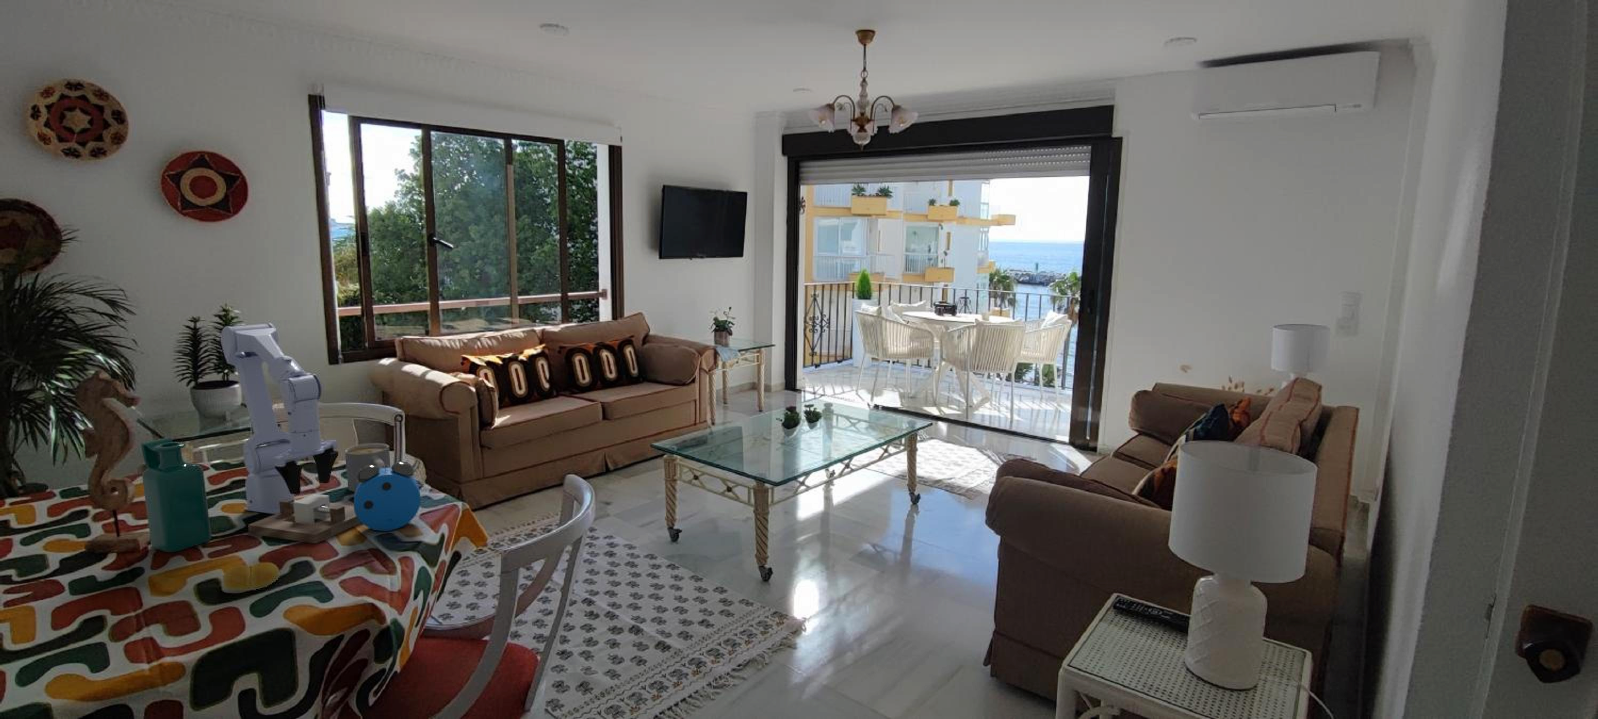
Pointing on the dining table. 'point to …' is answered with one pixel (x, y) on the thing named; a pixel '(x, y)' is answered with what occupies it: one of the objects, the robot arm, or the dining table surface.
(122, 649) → the dining table surface
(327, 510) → the hook bar
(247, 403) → the robot arm
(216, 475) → the dining table surface
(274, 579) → the bread roll
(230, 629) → the dining table surface
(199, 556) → the dining table surface
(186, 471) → the teal bottle
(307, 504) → the grey u-slotted block
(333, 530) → the shelf
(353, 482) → the coffee mug
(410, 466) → the alarm clock
